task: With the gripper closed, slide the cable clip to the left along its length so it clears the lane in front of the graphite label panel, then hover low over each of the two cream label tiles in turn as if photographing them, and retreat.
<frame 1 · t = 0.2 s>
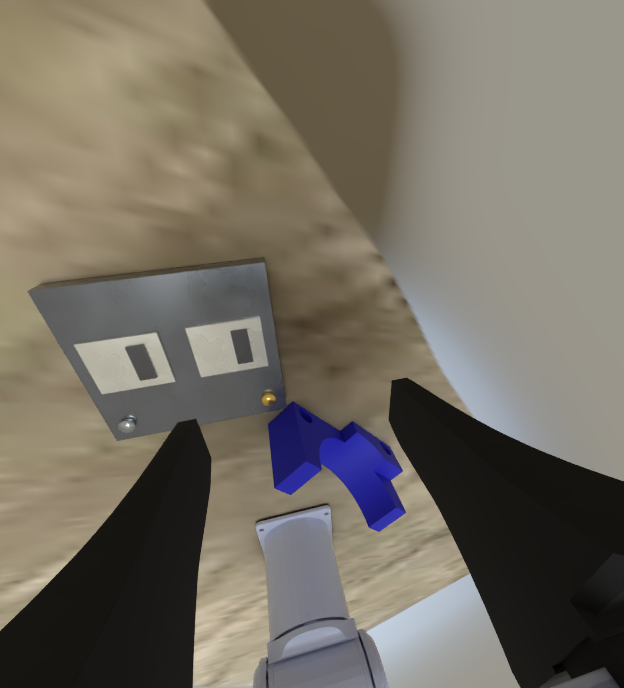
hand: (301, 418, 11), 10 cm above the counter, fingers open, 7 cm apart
cable clip: (333, 433, 27), on the counter
label panel: (186, 351, 19), on the counter
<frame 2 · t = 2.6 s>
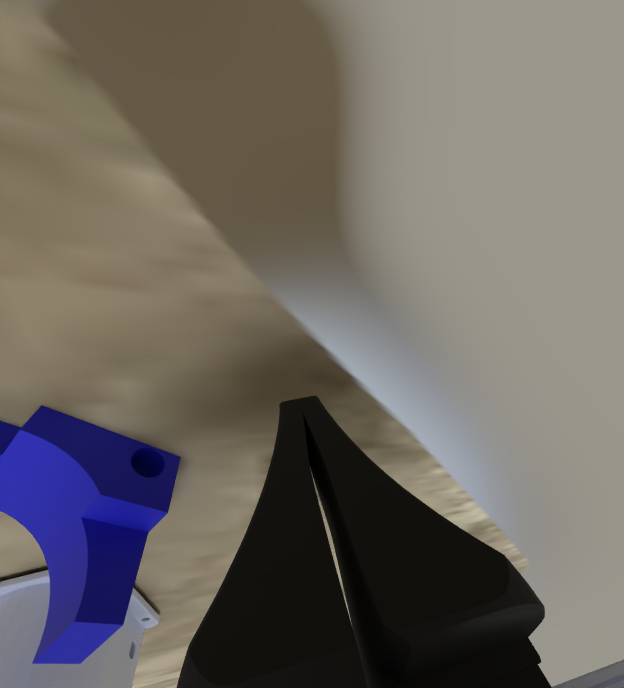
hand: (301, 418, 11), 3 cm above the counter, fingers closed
cable clip: (23, 433, 12), on the counter
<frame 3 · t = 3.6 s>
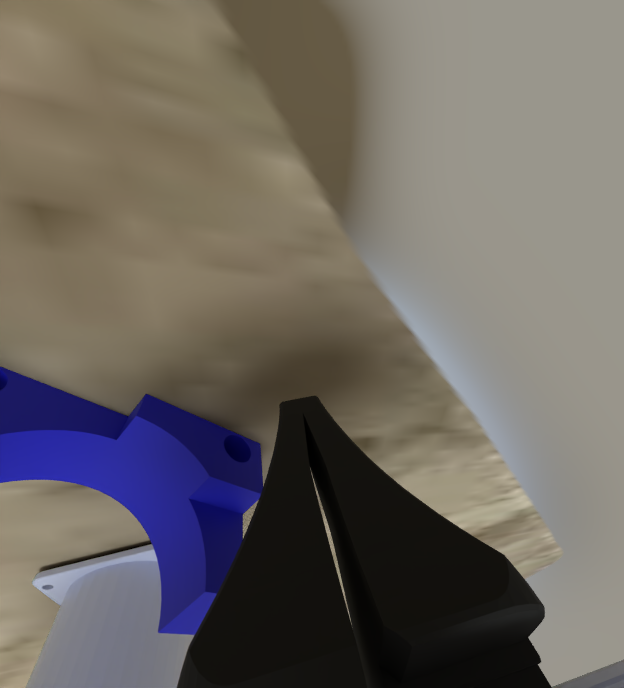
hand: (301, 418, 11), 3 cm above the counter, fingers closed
cable clip: (122, 421, 13), on the counter
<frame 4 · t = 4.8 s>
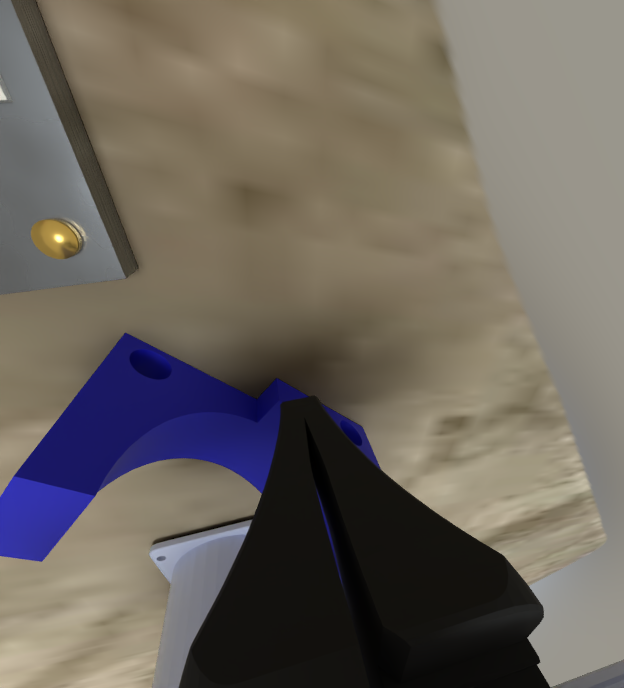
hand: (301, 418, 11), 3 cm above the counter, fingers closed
cable clip: (247, 406, 14), on the counter, touching gripper
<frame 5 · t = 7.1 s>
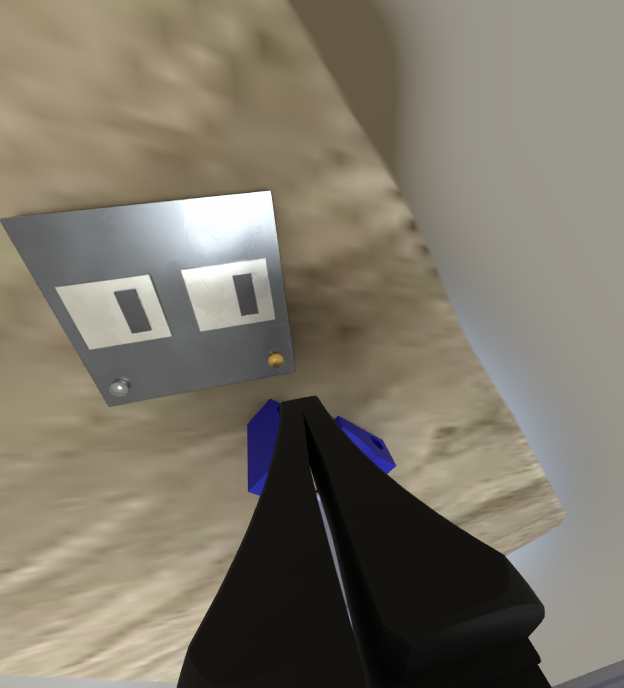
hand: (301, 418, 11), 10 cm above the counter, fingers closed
cable clip: (319, 429, 25), on the counter
label panel: (183, 304, 17), on the counter
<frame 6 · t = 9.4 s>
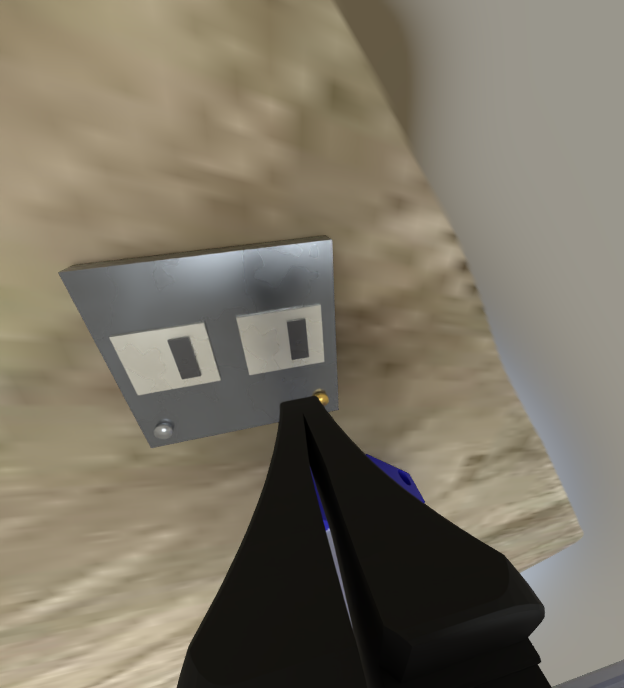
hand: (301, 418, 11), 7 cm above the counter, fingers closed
cable clip: (347, 466, 25), on the counter
label panel: (231, 346, 17), on the counter
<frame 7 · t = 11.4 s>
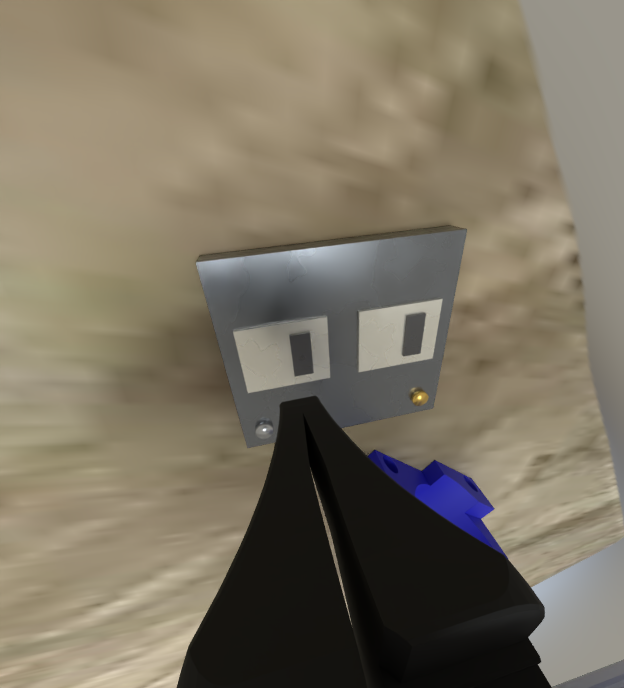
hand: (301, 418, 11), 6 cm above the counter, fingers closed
cable clip: (413, 473, 25), on the counter
label panel: (336, 341, 16), on the counter
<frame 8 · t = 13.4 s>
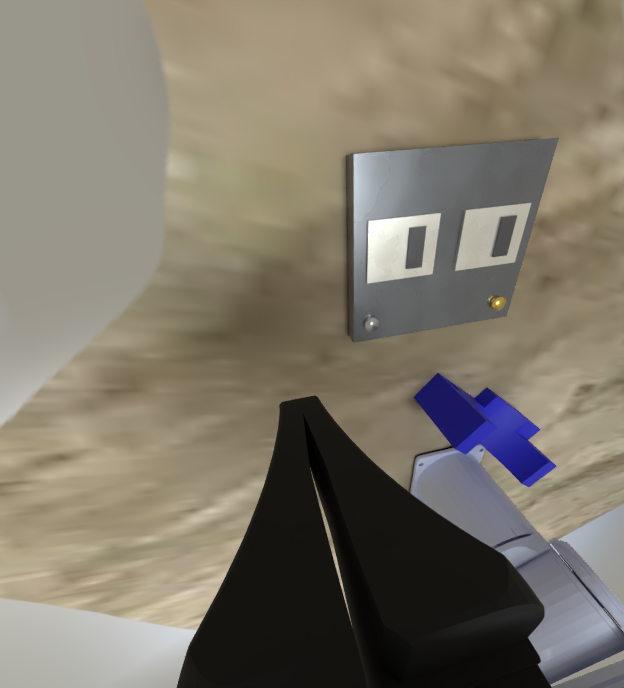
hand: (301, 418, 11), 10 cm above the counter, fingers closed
cable clip: (466, 401, 28), on the counter
label panel: (434, 247, 19), on the counter
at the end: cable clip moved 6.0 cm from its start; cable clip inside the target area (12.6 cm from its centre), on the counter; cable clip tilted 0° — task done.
